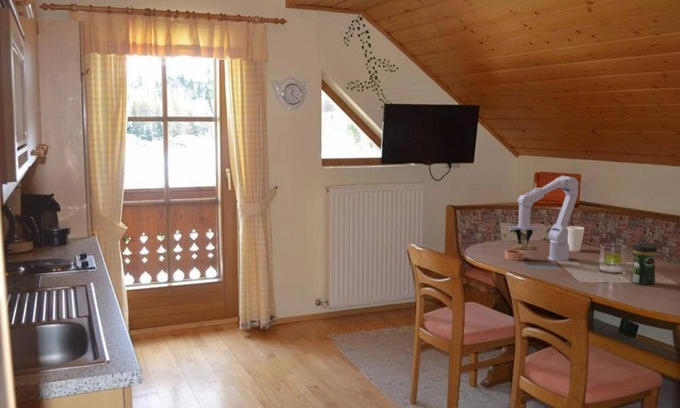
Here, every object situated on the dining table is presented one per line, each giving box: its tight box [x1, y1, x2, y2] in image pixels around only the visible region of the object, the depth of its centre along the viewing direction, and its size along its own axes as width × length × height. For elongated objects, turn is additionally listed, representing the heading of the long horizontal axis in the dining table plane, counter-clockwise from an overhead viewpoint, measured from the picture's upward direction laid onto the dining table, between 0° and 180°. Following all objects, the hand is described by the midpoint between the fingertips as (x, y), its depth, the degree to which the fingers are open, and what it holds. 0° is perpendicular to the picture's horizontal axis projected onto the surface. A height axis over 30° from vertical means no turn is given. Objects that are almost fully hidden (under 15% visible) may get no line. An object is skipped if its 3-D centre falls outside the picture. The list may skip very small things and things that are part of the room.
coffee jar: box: [630, 242, 658, 286], centre depth 286 cm, size 10×8×19 cm
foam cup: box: [567, 225, 585, 253], centre depth 354 cm, size 10×9×13 cm
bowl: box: [504, 249, 525, 261], centre depth 332 cm, size 10×10×4 cm
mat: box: [521, 260, 562, 271], centre depth 316 cm, size 16×16×1 cm
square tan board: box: [509, 238, 538, 251], centre depth 326 cm, size 12×12×4 cm
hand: (523, 244), depth 326 cm, fingers closed on square tan board, 3 cm apart
